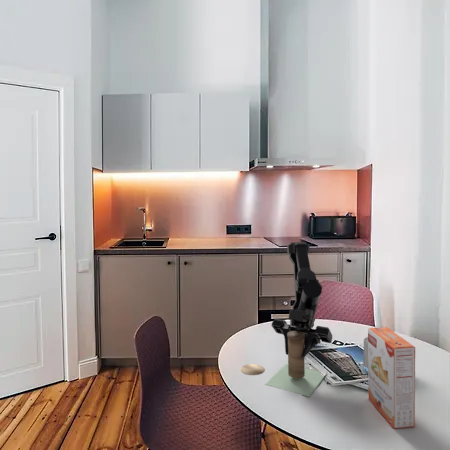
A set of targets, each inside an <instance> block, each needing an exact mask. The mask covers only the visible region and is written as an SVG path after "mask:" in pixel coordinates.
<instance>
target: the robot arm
mask: <svg viewBox="0 0 450 450" xmlns="http://www.w3.org/2000/svg"><path fill="white" fill-rule="evenodd" d="M310 245H311V244H310V243H307V242H306V241H301V242H298V241H297V242H296V241H294V242H289V244H287V249H286V250H287V251H286V252H287V254H288V257H289V260H290V261H291V263H292V265H293V278H294V297H295V300H294V303H293V306H292V307H291V309H289V313H288V320H289V324H288V322H287V321H286V320H285V319H280V318H275V319H273V320H272V323H271V327H272V328H273V330H274V332H275V333H277V334H279V335H280V334H281V335H283V337H284V346H285V347H284V349H285V355H287V356H288V337H287V333H288V332H291V331H300V332H303V333H304V334H305V337H304V350H303V353H302V358H304V359H305V357H307V355H308V354H309V352H310V351H311V350H312V349H314V347H315V346H317V344H318V345H319V344H321V343H327V344H332V342H333V334H332V331H331V330H330V328H329V327H328V326H321V325H317V326H316V327H315V321H316V313H317V309H318V305H319V301H320V298H321V294H322V292H323V291H322V290H323V286H322V284H321V282H320V281H319V279H317V276H316V273H315V271H313V270H312V269H311V265H310V259H309V255H308V254H310V253H311V246H310ZM314 327H315V329H314Z"/></svg>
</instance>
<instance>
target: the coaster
mask: <svg viewBox="0 0 450 450" xmlns="http://www.w3.org/2000/svg"><path fill="white" fill-rule="evenodd" d="M265 371H266V368H265V367H264V366H263V365H260V364H257V363H249V364H245V365H243V366H241V368H240V372H241V373H242V374H244V375H247V376H258V375H261V374H263V373H265Z"/></svg>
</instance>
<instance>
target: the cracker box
mask: <svg viewBox="0 0 450 450" xmlns="http://www.w3.org/2000/svg"><path fill="white" fill-rule="evenodd" d="M367 336H368V372H367V374H368V376H367V377H368V379H367V380H368V383H367V384H368V386H367V387H368V397H367V398H368V399H367V400H369V401H370V402H371V404H372V405H373V406H374V407H375V409H377V411H378V412H379V413H380V415H382V416H383V418H384V419H385V420H386V422H387V423H388V424H389V426H391V427H392V429H393V430H395V429H403V428H414V427H416V425H415V424H416V423H415V422H416V416H415V415H416V346H415V345H413V344H412V343H410V342H409V341H407V340H406V339H405V338H403V336H400V335H398V334H397V333H396V332H394V330H392V329H391V328H390V327H387V326H383V327H370V328H367Z"/></svg>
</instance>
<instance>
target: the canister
mask: <svg viewBox="0 0 450 450" xmlns="http://www.w3.org/2000/svg"><path fill="white" fill-rule="evenodd" d="M287 337H288V355H287V364H288V375H289V376H290V377H292V378H302V377H304V376H305V368H306V367H305V364H306V363H305V357H304V358H302V353H303V350H304V347H305V345H304V337H305V334H304V333H303V332H300V331H291V332H288V333H287Z"/></svg>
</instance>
